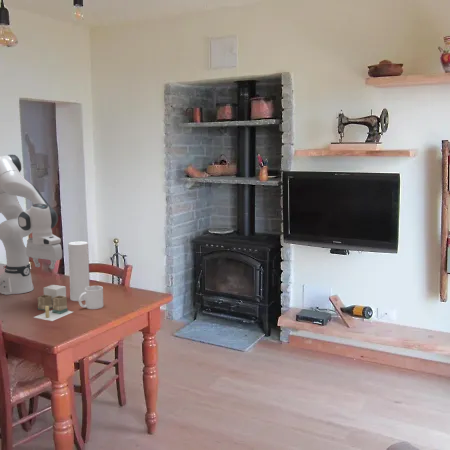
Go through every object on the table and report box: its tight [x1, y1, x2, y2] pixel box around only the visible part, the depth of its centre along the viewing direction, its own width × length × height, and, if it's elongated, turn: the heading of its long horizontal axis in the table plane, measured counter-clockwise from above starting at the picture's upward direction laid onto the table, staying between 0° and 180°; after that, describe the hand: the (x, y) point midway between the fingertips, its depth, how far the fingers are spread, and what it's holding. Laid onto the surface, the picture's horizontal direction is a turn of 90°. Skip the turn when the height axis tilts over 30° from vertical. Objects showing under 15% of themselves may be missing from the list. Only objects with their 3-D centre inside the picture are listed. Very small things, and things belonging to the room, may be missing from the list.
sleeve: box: [37, 294, 53, 312], centre depth 244 cm, size 5×5×7 cm
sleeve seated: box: [51, 296, 69, 314], centre depth 239 cm, size 5×5×7 cm
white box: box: [43, 284, 67, 306], centre depth 252 cm, size 8×7×9 cm
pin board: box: [33, 306, 74, 322], centre depth 235 cm, size 11×14×6 cm
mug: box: [78, 285, 104, 310], centre depth 246 cm, size 12×8×10 cm
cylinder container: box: [67, 240, 90, 302], centre depth 258 cm, size 9×9×30 cm
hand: (44, 267), depth 243 cm, fingers open, 8 cm apart
